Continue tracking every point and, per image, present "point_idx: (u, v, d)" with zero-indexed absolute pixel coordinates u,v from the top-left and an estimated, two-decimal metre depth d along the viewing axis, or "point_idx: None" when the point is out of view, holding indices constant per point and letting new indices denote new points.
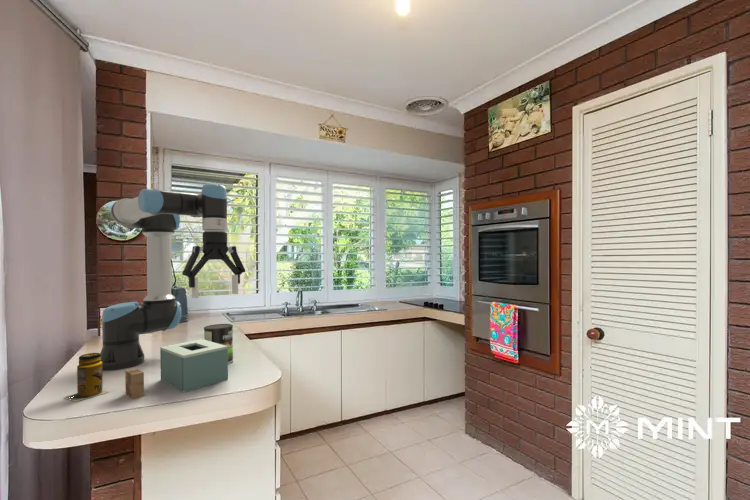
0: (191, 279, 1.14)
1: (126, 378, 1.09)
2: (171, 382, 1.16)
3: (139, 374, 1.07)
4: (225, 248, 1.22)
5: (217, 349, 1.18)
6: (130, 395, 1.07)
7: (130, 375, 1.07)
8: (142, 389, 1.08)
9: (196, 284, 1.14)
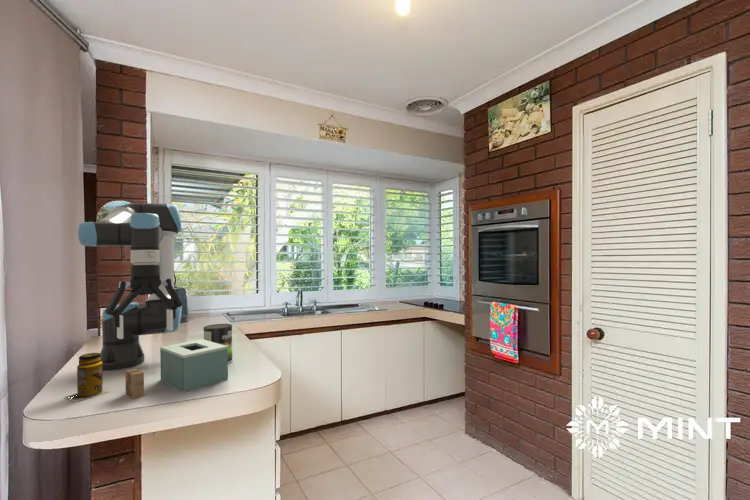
0: (115, 318, 1.04)
1: (126, 378, 1.09)
2: (171, 382, 1.16)
3: (139, 374, 1.07)
4: (157, 282, 1.12)
5: (217, 349, 1.18)
6: (130, 395, 1.07)
7: (130, 375, 1.07)
8: (142, 389, 1.08)
9: (121, 323, 1.04)
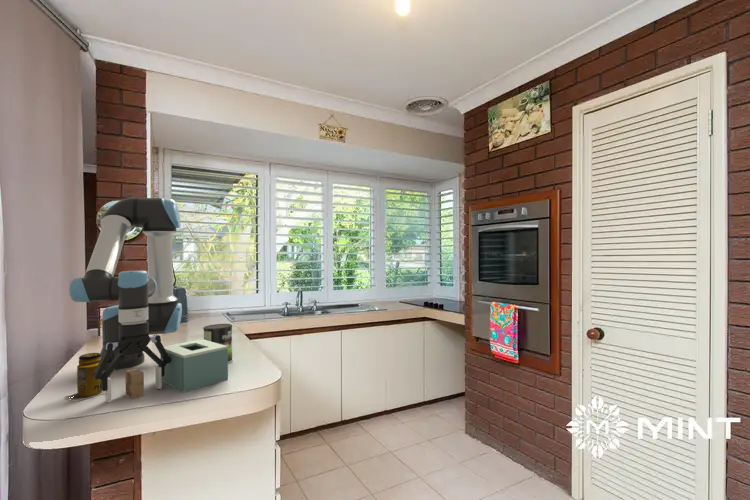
0: (103, 382, 1.02)
1: (126, 378, 1.09)
2: (171, 382, 1.16)
3: (139, 374, 1.07)
4: (146, 339, 1.11)
5: (217, 349, 1.18)
6: (130, 395, 1.07)
7: (130, 375, 1.07)
8: (142, 389, 1.08)
9: (109, 387, 1.03)
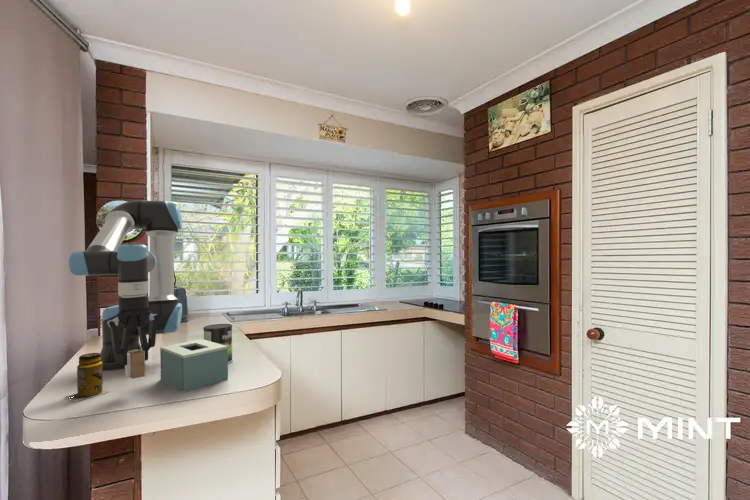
0: (123, 357, 1.07)
1: None
2: (171, 382, 1.16)
3: (139, 354, 1.08)
4: (146, 313, 1.11)
5: (217, 349, 1.18)
6: None
7: None
8: (143, 369, 1.08)
9: (128, 361, 1.07)
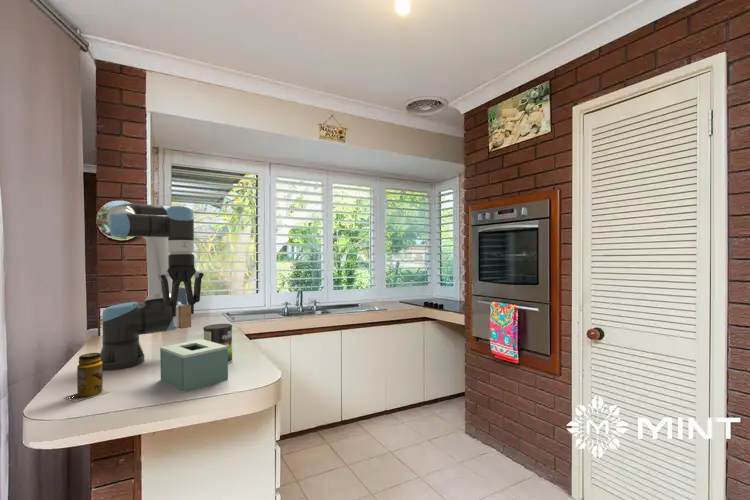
0: (172, 308, 1.16)
1: None
2: (171, 382, 1.16)
3: (187, 307, 1.17)
4: (192, 270, 1.21)
5: (217, 349, 1.18)
6: (179, 325, 1.17)
7: (179, 307, 1.17)
8: (189, 321, 1.17)
9: (177, 313, 1.17)
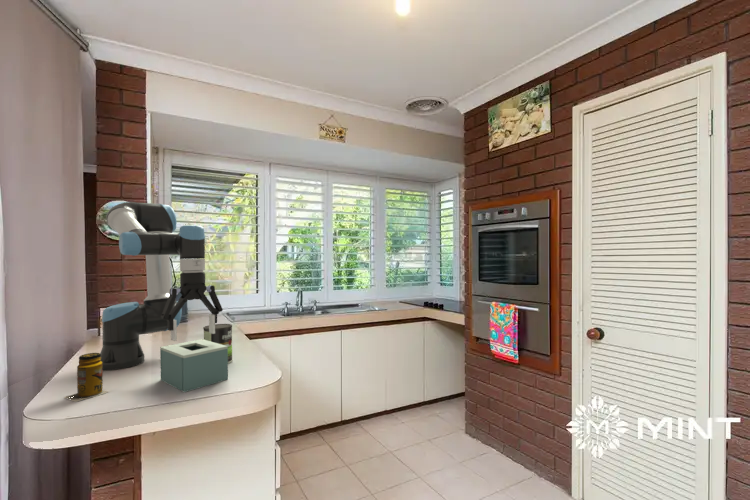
0: (169, 322, 1.15)
1: None
2: (171, 382, 1.16)
3: None
4: (203, 287, 1.23)
5: (217, 349, 1.18)
6: None
7: None
8: None
9: (174, 327, 1.16)
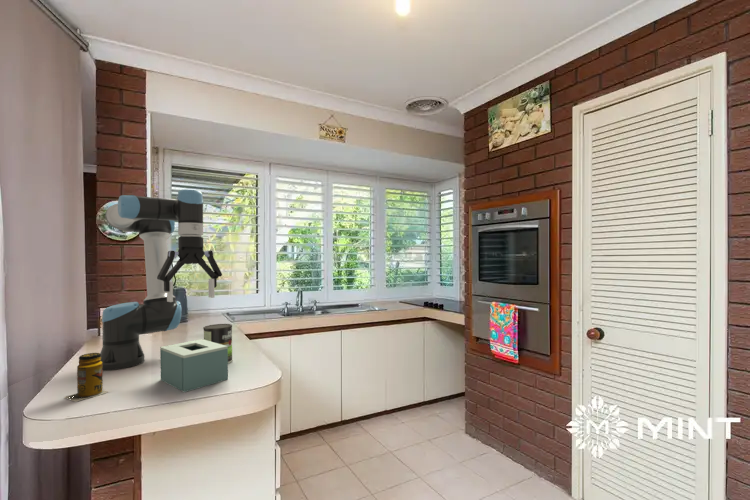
0: (166, 283, 1.15)
1: None
2: (171, 382, 1.16)
3: None
4: (201, 252, 1.24)
5: (217, 349, 1.18)
6: None
7: None
8: None
9: (171, 288, 1.16)
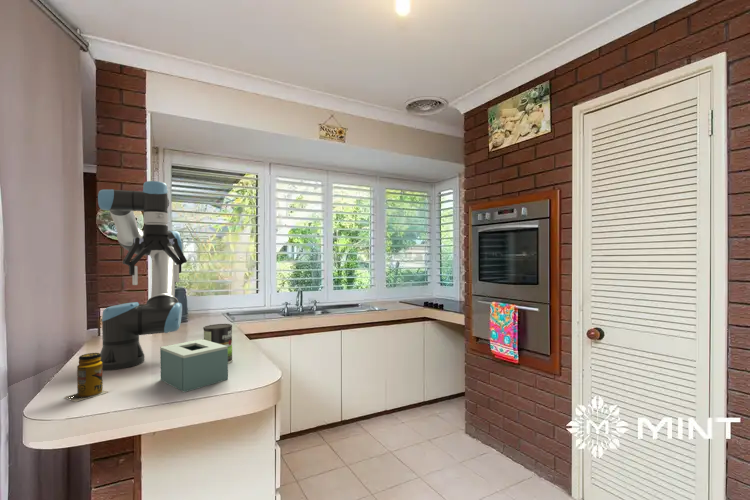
0: (131, 267, 1.25)
1: None
2: (171, 382, 1.16)
3: None
4: (166, 240, 1.33)
5: (217, 349, 1.18)
6: None
7: None
8: None
9: (135, 272, 1.25)
